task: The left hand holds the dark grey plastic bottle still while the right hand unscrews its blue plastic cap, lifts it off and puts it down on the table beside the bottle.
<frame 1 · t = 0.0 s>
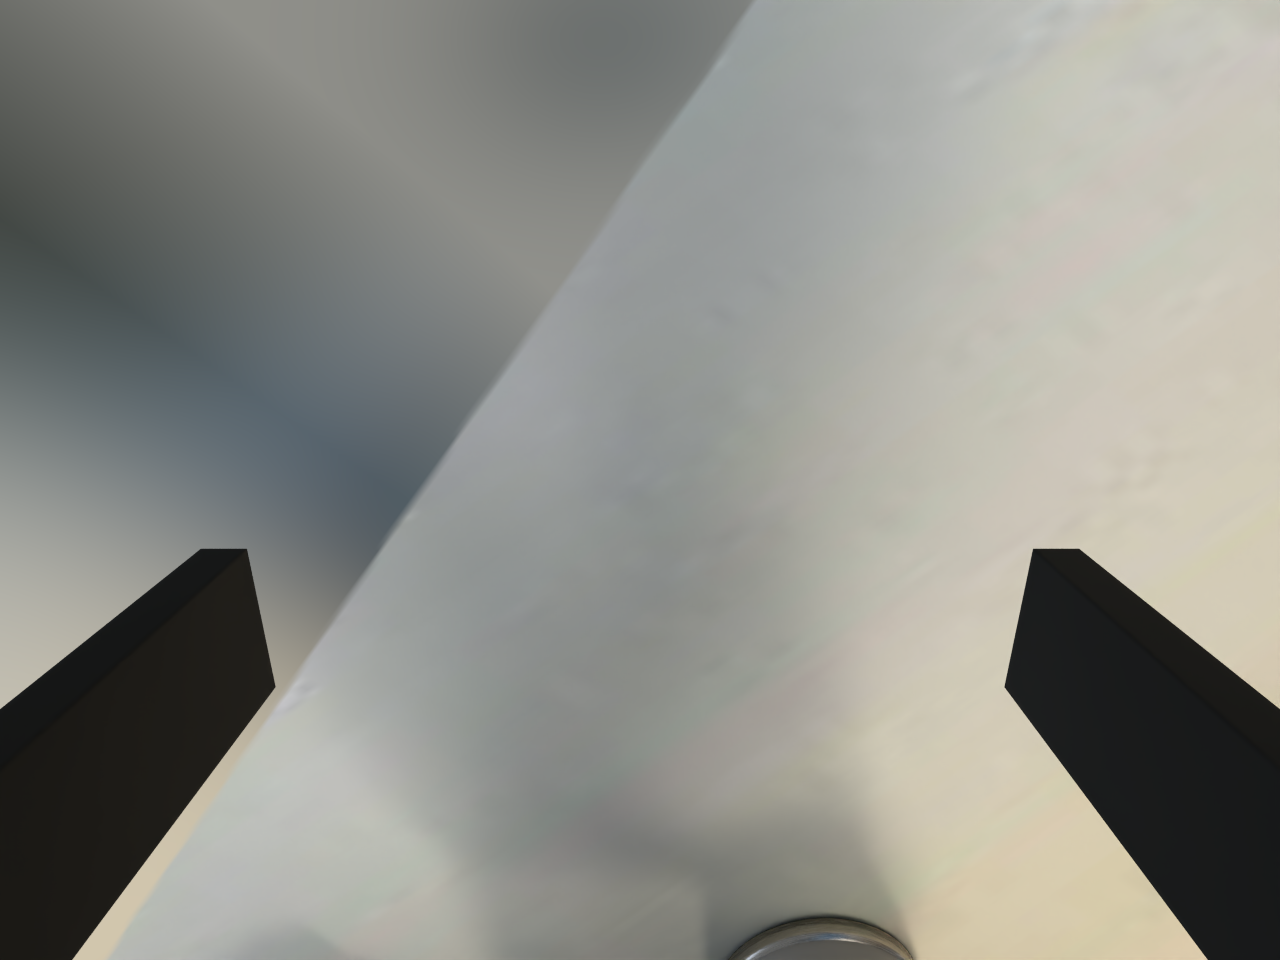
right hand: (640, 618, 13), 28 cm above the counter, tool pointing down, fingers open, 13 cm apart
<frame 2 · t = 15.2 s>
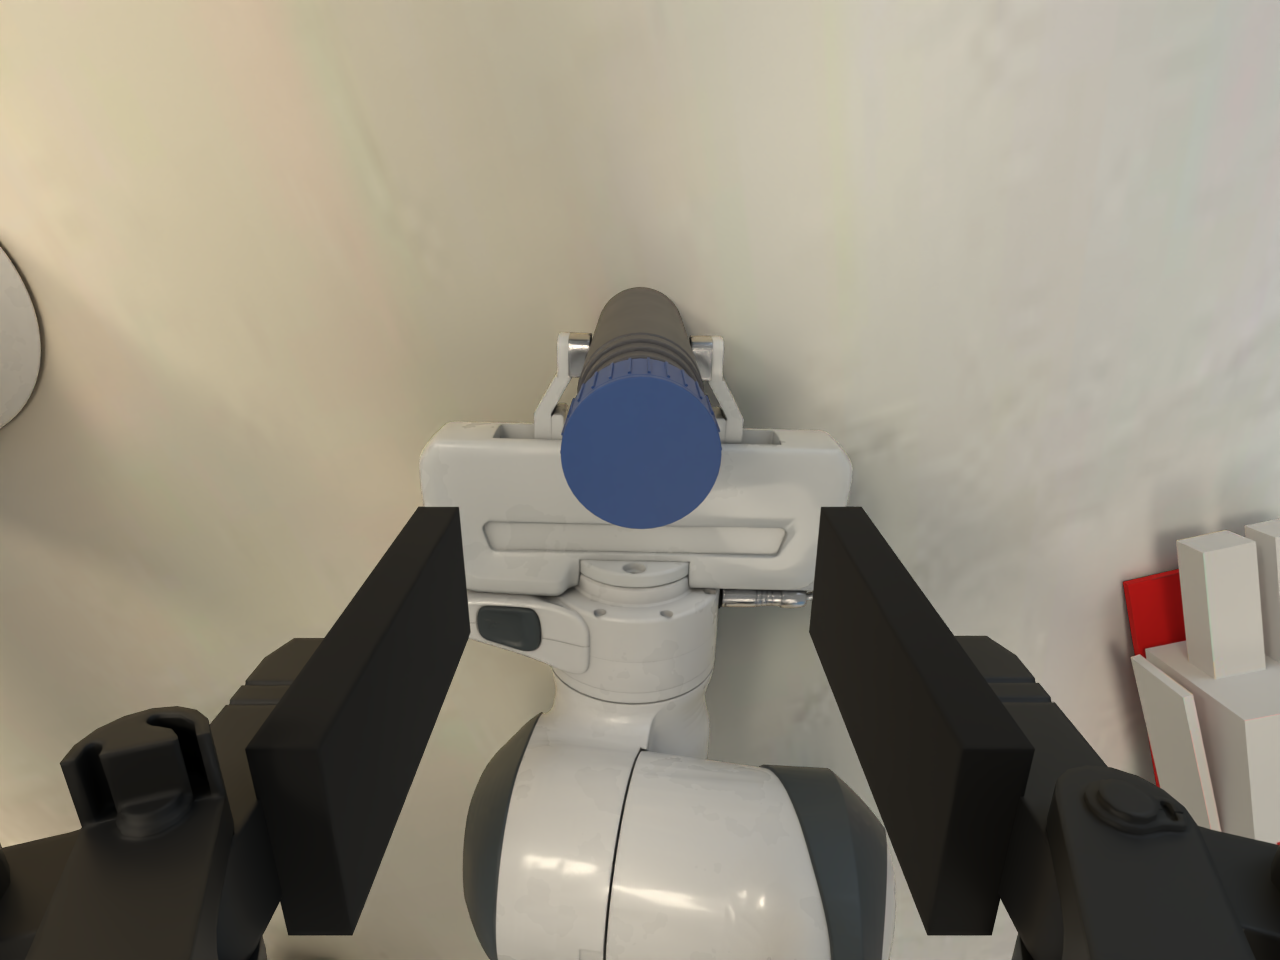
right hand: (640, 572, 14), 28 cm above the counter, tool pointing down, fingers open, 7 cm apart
left hand: (639, 335, 34), fingers closed on bottle, 4 cm apart
toy: (1192, 708, 49), on the counter
bottle: (640, 330, 40), on the counter, touching left hand
cap: (641, 452, 21), point 21 cm above the counter, screwed on, not yet turned
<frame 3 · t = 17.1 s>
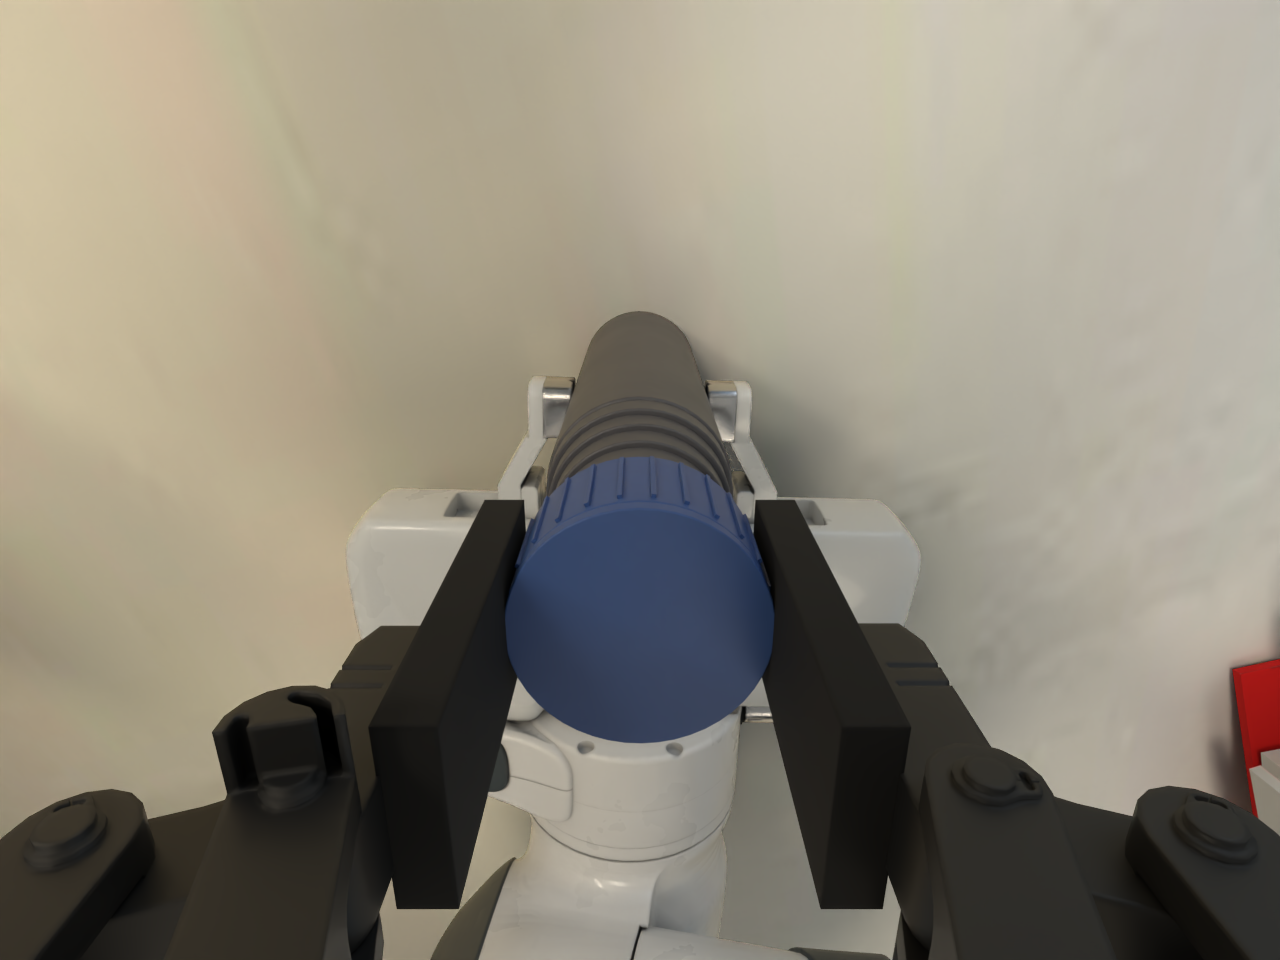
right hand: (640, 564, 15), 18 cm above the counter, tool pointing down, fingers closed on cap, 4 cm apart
bottle: (639, 365, 32), on the counter, touching left hand
cap: (639, 624, 13), point 21 cm above the counter, screwed on, not yet turned, touching right hand
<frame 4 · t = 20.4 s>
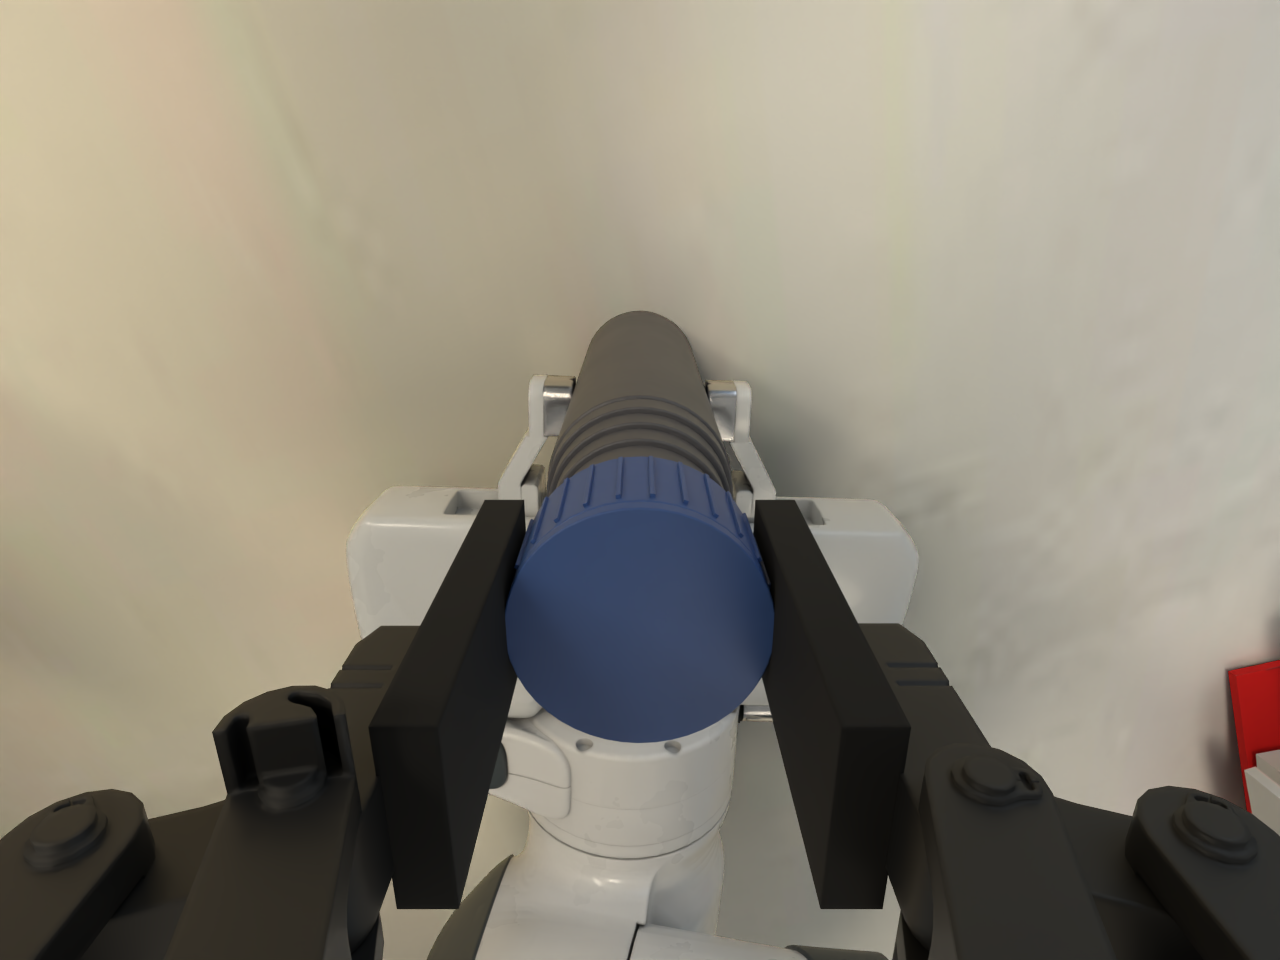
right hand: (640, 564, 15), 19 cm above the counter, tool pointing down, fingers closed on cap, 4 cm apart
bottle: (639, 365, 32), on the counter, touching left hand
cap: (639, 623, 13), point 21 cm above the counter, turned 112° so far, risen 0.1 cm, still on its thread, touching right hand
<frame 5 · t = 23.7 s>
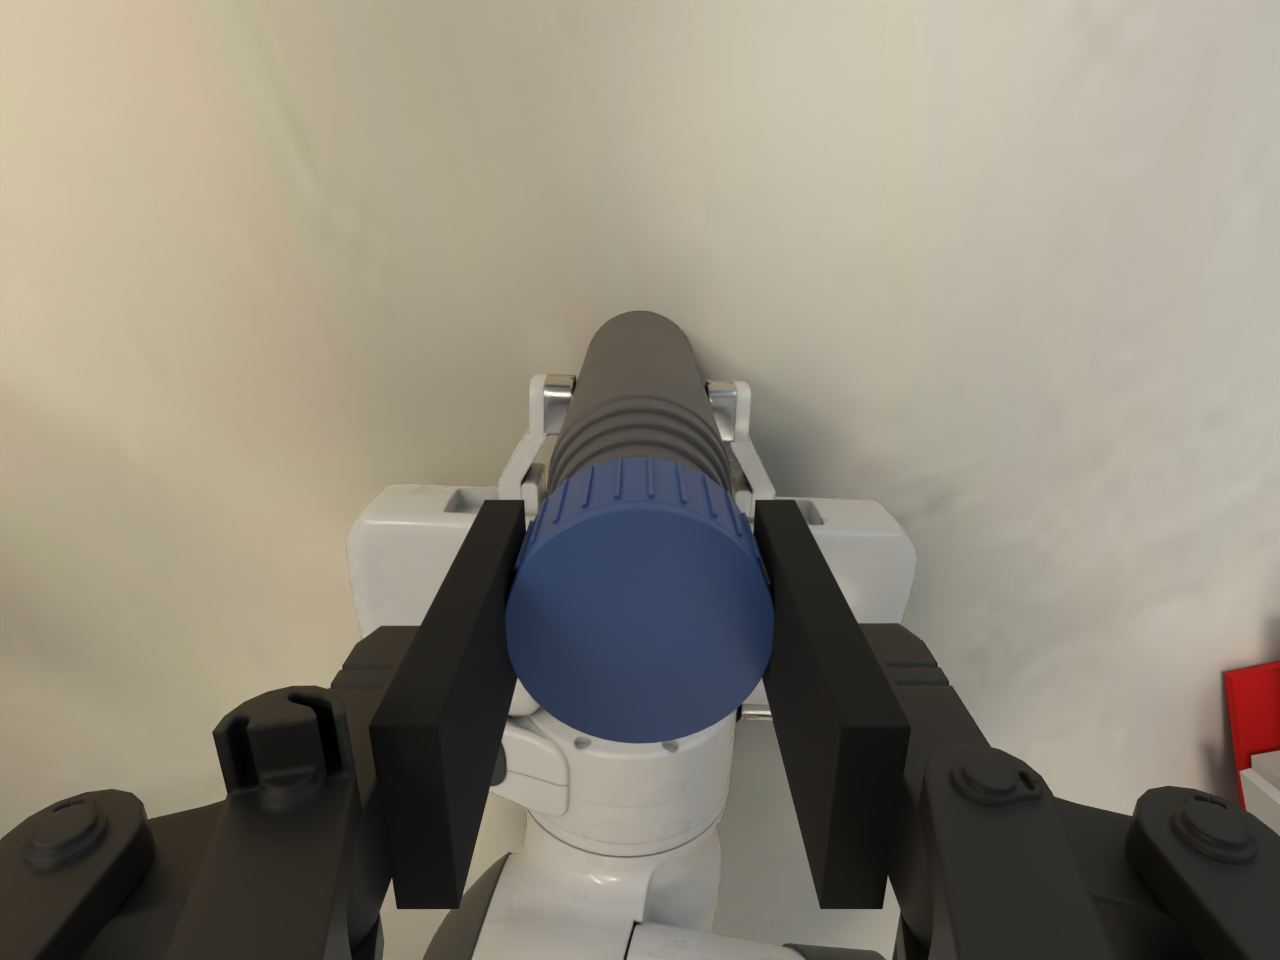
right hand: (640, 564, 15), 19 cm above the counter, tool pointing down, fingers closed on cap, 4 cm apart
bottle: (639, 364, 32), on the counter, touching left hand
cap: (639, 624, 13), point 21 cm above the counter, turned 223° so far, risen 0.2 cm, still on its thread, touching right hand
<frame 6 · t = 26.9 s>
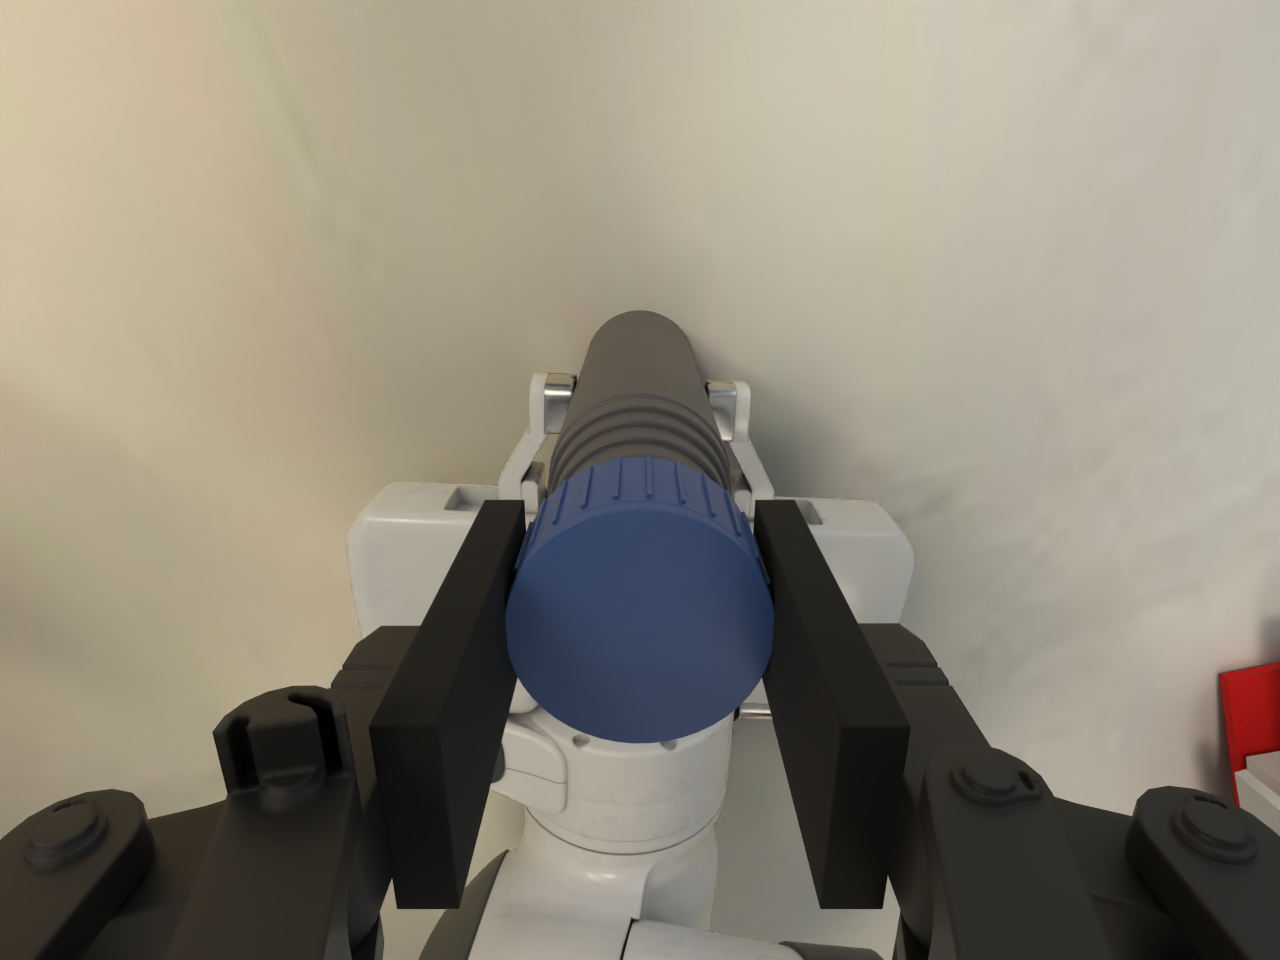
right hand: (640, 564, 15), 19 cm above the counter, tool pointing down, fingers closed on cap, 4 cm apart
bottle: (639, 364, 32), on the counter, touching left hand
cap: (639, 624, 13), point 21 cm above the counter, turned 335° so far, risen 0.3 cm, still on its thread, touching right hand
when the right hand's fingers open (1 cm above the counter, at t = 33.7 s): cap drops 1 cm, point 2 cm above the counter.
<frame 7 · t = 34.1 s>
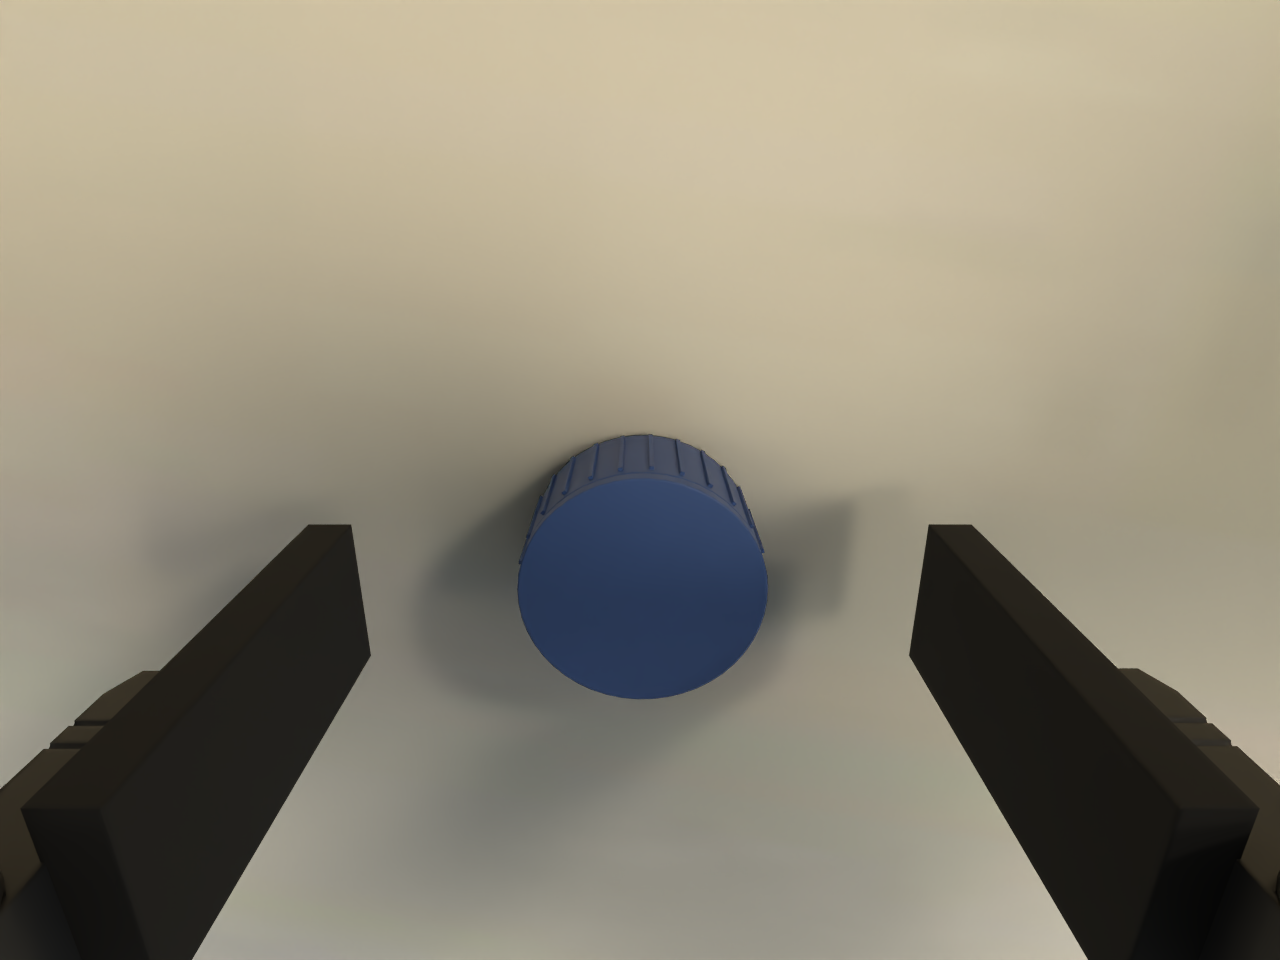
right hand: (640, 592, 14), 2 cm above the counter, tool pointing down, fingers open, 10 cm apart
cap: (642, 587, 14), point 2 cm above the counter, off its thread
when the left hand's fingers open (7 cm above the counter, at t = 35.0 s): bottle stays where it is, on the counter.
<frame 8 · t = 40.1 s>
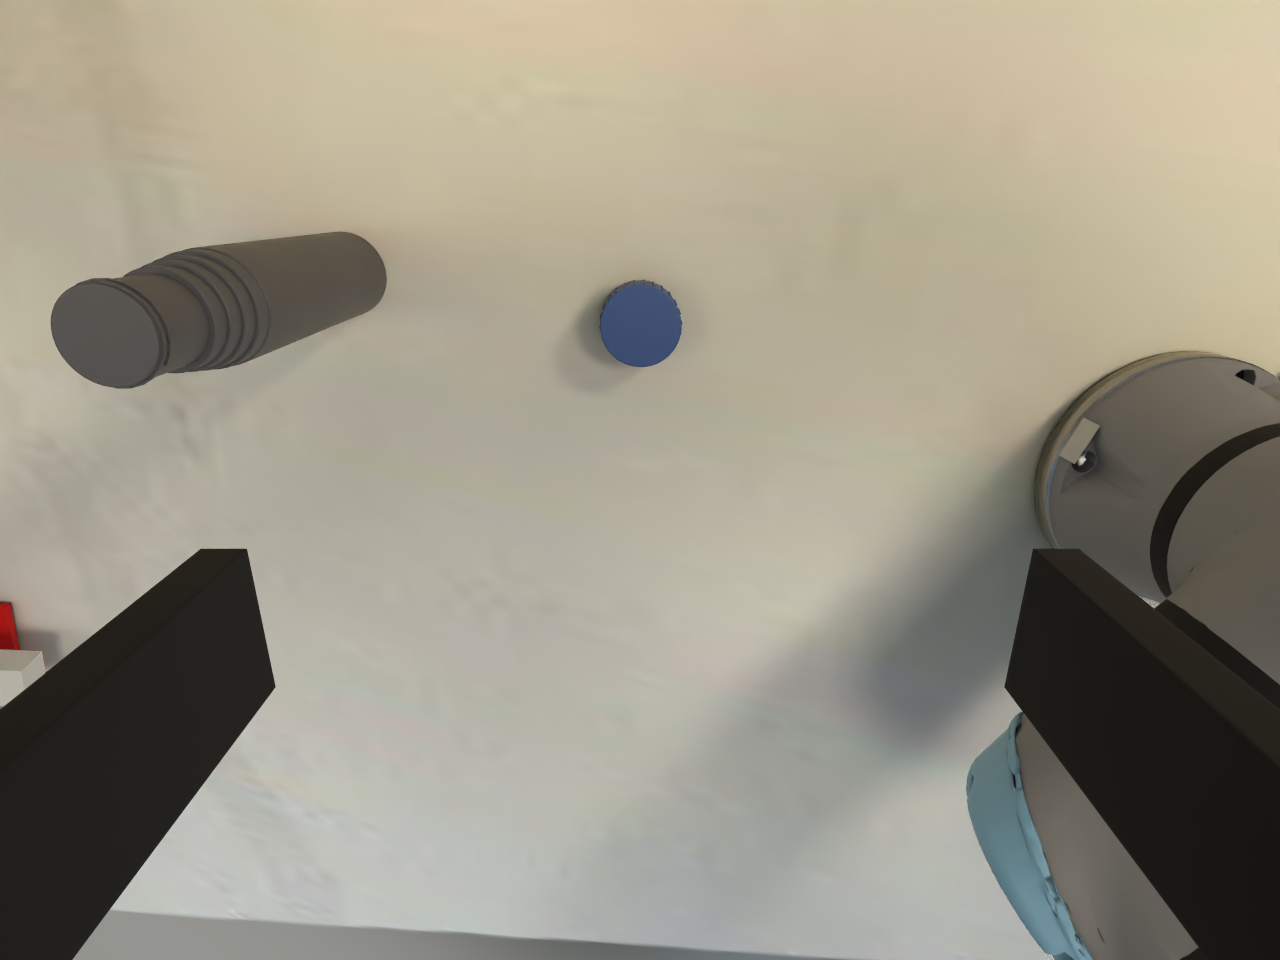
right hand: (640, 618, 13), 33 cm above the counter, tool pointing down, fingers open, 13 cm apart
bottle: (346, 274, 43), on the counter
cap: (640, 326, 41), point 2 cm above the counter, off its thread
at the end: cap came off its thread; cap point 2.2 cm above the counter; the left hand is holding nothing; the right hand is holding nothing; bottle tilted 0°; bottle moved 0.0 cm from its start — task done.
